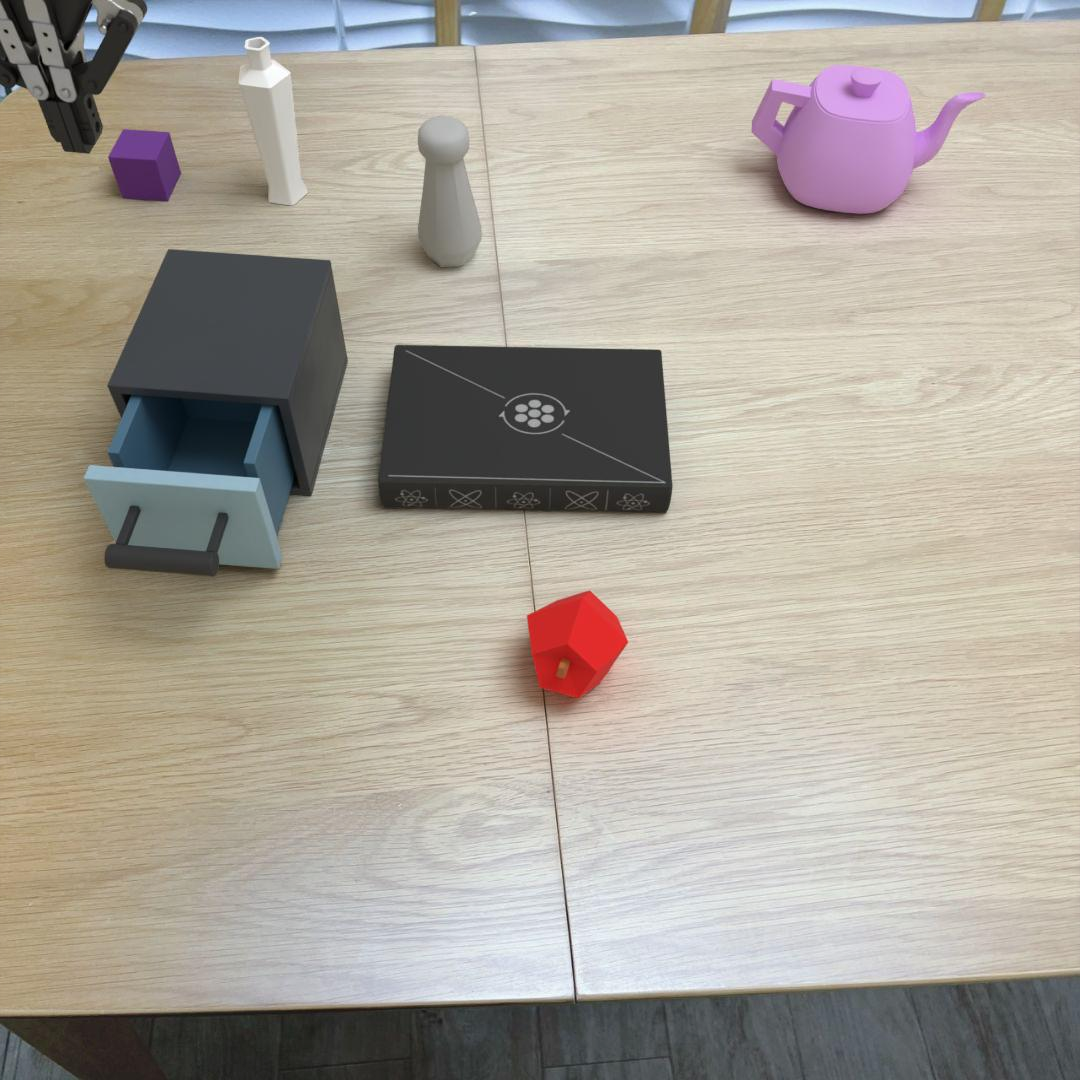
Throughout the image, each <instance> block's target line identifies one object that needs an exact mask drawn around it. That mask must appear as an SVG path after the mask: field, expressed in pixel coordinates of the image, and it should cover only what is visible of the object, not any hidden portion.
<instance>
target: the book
mask: <svg viewBox="0 0 1080 1080" xmlns="http://www.w3.org/2000/svg"><path fill="white" fill-rule="evenodd" d="M392 355H393V357H392V364H391V371H390V372H391V373H390V379H389V380H390V381H389V387H388V388H389V389H388V395H387V396H388V397H387V404H386V410H385V411H386V413H385V419H384V429H383V434H382V435H383V436H382V443H381V445H382V446H381V451H380V460H379V468H378V476H377V483H378V485H377V487H378V495H379V499H380V504H381V507H382V508H383V509H431V510H432V509H435V510H437V509H439V510H440V509H441V510H442V509H443V510H492V511H494V510H496V511H550V512H551V511H553V512H554V511H555V512H556V511H557V512H563V511H564V512H614V513H615V512H616V513H617V512H618V513H620V512H621V513H626V512H627V513H667V512H668V511H669V510H670V505H671V501H672V496H673V495H672V494H673V487H674V486H673V476H672V475H673V474H672V464H671V450H670V438H669V427H668V415H667V414H668V413H667V402H666V390H665V377H664V368H663V367H664V366H663V365H664V364H663V354H662V350H661V349H656V348H655V349H654V348H653V349H651V348H649V349H645V348H597V347H595V348H593V347H592V348H591V347H545V346H544V347H541V346H539V347H538V346H536V347H535V346H487V345H486V346H485V345H484V346H480V345H431V344H430V345H429V344H428V345H427V344H395V345H394V349H393V354H392Z"/></svg>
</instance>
